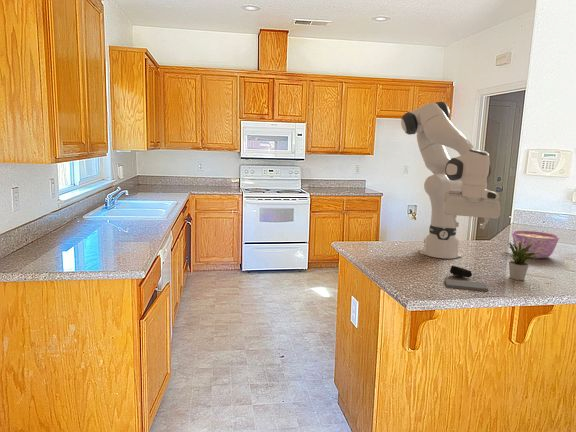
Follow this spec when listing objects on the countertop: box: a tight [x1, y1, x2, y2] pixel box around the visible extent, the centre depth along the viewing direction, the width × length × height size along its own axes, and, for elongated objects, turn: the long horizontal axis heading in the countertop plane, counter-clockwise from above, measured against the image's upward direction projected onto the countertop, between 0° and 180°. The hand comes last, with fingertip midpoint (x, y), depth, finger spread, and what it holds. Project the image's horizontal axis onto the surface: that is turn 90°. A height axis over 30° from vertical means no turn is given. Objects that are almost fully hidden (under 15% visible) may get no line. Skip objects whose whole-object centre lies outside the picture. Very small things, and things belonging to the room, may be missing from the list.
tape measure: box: [449, 265, 473, 278], centre depth 170 cm, size 7×7×4 cm
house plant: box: [499, 239, 537, 281], centre depth 170 cm, size 14×14×16 cm
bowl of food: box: [511, 230, 560, 259], centre depth 208 cm, size 20×20×12 cm
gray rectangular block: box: [444, 278, 489, 292], centre depth 158 cm, size 8×14×1 cm, turn 75°
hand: (469, 227), depth 166 cm, fingers open, 8 cm apart
